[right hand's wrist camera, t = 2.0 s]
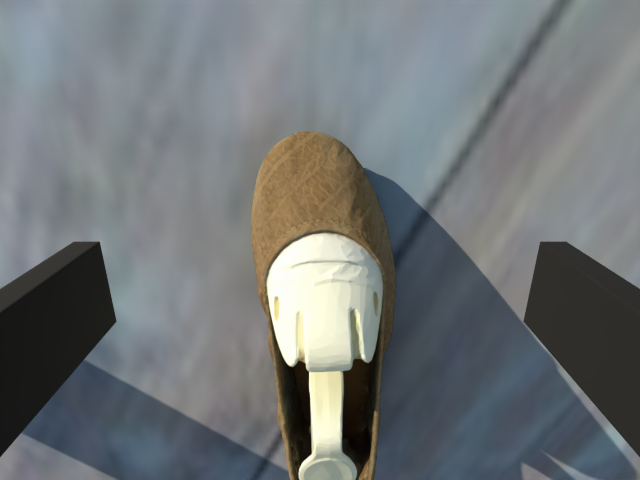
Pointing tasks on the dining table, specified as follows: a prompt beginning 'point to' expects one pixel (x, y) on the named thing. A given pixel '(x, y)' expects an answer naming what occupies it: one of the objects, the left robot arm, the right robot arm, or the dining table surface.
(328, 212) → the brown shoe
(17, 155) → the dining table surface
